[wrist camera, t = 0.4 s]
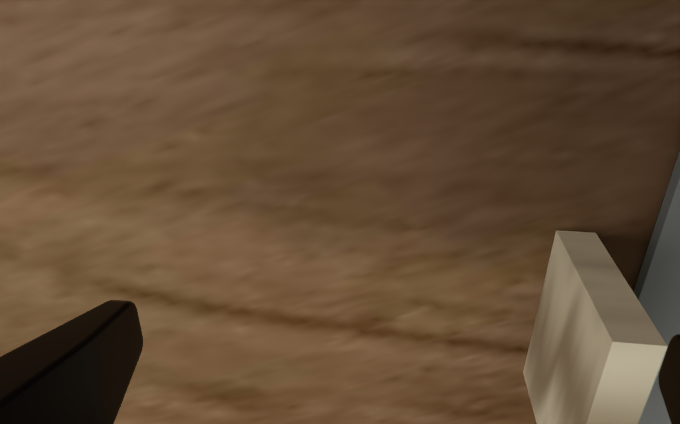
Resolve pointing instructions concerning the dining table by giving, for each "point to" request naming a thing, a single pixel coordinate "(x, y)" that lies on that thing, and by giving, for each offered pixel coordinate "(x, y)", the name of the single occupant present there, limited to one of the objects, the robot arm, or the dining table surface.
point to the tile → (590, 340)
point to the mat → (662, 284)
